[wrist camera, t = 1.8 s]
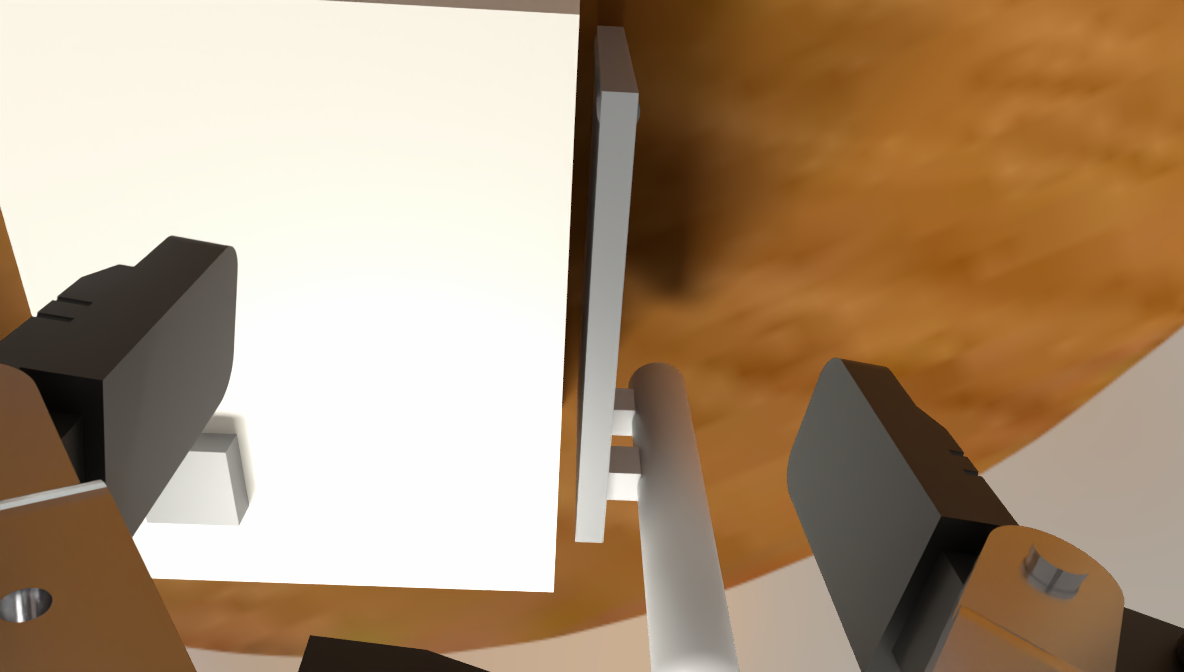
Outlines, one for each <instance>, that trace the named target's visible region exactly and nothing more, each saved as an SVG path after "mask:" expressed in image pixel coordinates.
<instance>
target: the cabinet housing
mask: <svg viewBox="0 0 1184 672" xmlns="http://www.w3.org/2000/svg"><path fill="white" fill-rule="evenodd" d="M579 14H580V0H0V207H1V210H2V213H3V217H4V220H5V224H6V227H7V231H8V234H9V238H10V241H11V245H12V248H13V252H14V255H15V258H16V262H17V265H18V269H19V272H20V276H21V279H22V283H23V286H24V290H25V293H26V296H27V300H28V303H29V307H30V310H31V314H32V316H33V317H36V316H37V312H38V311H39V310H41V309H42V308H43V307H44V306H46V305H47V304H48V303H49V302H51V301H52V300H55V301H56V300H57V296H58V295H59V294H61V293H62V292H63V291H64V290H66V289H67V288H68V287H69V286H71V285H72V284H73V283H74V282H76V281H77V280H78V279H79V278H81V277H83V276H86V275H89V274H92V273H95V272H98V271H101V270H103V269H106V268H109V267H112V266H115V265H118V264H121V265H127V266H133V267H134V266H135V265H136V264H137V263H139V262H140V261H141V260H142V259H143V258H144V257H145V256H147V255H148V254H149V253H150V252H151V251H152V250H153V249H155V248H156V247H157V246H158V245H159V244H160V243H161V242H163V241H164V240H165V239H166V238H167V237H169V236H172V235H173V236H179V237H184V238H190V239H195V240H200V241H206V242H211V243H217V244H222V245H228V246H233V247H234V248H235V250H236V254H237V259H238V275H237V297H236V318H235V340H234V358H233V366H232V372H231V376H230V380H229V384H228V387H227V390H226V393H225V395H224V398H223V400H222V402H221V403H220V405H219V406H218V408H217V410H216V411H215V413H214V414H213V416H212V417H211V419H210V420H209V422H208V423H207V425H206V426H205V428H204V429H203V431H202V432H201V434H200V435H199V437H198V438H197V440H196V441H195V443H194V445H193V446H192V448H191V449H190V451H189V452H188V454H187V455H186V457H185V458H184V460H183V461H182V463H181V464H180V466H179V467H178V469H177V470H176V472H175V473H174V475H173V476H172V478H171V479H170V481H169V483H168V484H167V486H166V487H165V489H164V490H163V492H162V493H161V495H160V496H159V498H158V499H157V501H156V502H155V504H154V505H153V507H152V508H151V510H150V511H149V513H148V514H147V516H146V517H145V519H144V521H143V522H142V524H141V525H140V527H139V528H138V530H137V531H136V533H135V534H134V536H133V537H132V538H133V540H134V542H135V545H136V547H137V549H138V551H139V553H140V555H141V557H142V559H143V561H144V563H145V565H146V567H147V569H148V572H149V574H150V576H151V578H161V579H190V580H219V581H247V582H276V583H305V584H334V585H363V586H391V587H420V588H449V589H478V590H506V591H535V592H553V591H554V569H555V547H556V524H557V502H558V480H559V458H560V436H561V413H562V391H563V369H564V347H565V325H566V303H567V280H568V258H569V236H570V214H571V192H572V169H573V147H574V125H575V103H576V81H577V58H578V36H579Z"/></svg>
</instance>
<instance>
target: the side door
mask: <svg viewBox="0 0 1184 672" xmlns="http://www.w3.org/2000/svg"><path fill="white" fill-rule="evenodd" d="M594 62H595V75H594V93H593V111H592V129H591V148H590V166H589V184H588V203H587V221H586V239H585V257H584V276H583V294H582V312H581V331H580V349H579V367H578V385H577V454H576V523H575V542H598V543H603V537H604V524H605V512H606V500H631V501H638V511H639V523H640V535H641V547H642V559H643V572H644V584H645V596H646V608H647V620H648V633H649V645H650V657H651V669H652V672H740V671H739V665H738V660H737V655H736V650H735V644H734V639H733V634H732V628H731V624H730V618H729V613H728V607H727V602H726V597H725V591H724V586H723V581H722V576H721V570H720V565H719V560H718V555H717V549H716V544H715V539H714V534H713V528H712V523H711V518H710V512H709V507H708V502H707V497H706V491H705V486H704V481H703V476H702V470H701V465H700V460H699V455H698V449H697V444H696V439H695V434H694V428H693V423H692V418H691V412H690V407H689V402H688V397H687V391H686V386H685V381H684V378H683V376H682V374H681V373H680V372H679V370H677V369H676V368H675V367H673V366H671V365H669V364H666V363H650V364H647V365H644V366H642V367H640V368H639V369H638V370H637V371H635V373H634V374H633V375H632V377H631V379H630V381H629V389H623V388H615V386H616V374H617V361H618V349H619V336H620V323H621V311H622V298H623V286H624V273H625V261H626V248H627V235H628V223H629V210H630V198H631V185H632V173H633V160H634V148H635V135H636V124H637V122H638V120H639V117H640V106H639V101H638V97H639V92H638V87H637V83H636V79H635V74H634V70H633V65H632V61H631V57H630V52H629V48H628V44H627V39H626V35H625V30H624V27H617V26H599V25H597V35H596V36H595V39H594ZM612 435H625V436H632V437H633V447H623V446H611V436H612Z"/></svg>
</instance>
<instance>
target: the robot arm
mask: <svg viewBox="0 0 1184 672" xmlns="http://www.w3.org/2000/svg"><path fill="white" fill-rule="evenodd" d="M237 275H238V259H237V254H236V250H235V248H234V247H233V246H228V245H222V244H217V243H211V242H206V241H200V240H195V239H190V238H184V237H179V236H173V235H172V236H169V237H167V238H166V239H165V240H164V241H163V242H161V243H160V244H159V245H158V246H157V247H156V248H155V249H153V250H152V251H151V252H150V253H149V254H148V255H147V256H145V257H144V258H143V259H142V260H141V261H140V262H139V263H137V264H136V265H135V266H134V267H133V266H127V265H121V264H118V265H115V266H112V267H109V268H106V269H103V270H101V271H98V272H95V273H92V274H89V275H86V276H83V277H81V278H79V279H78V280H77V281H76V282H74V283H73V284H72V285H71V286H69V287H68V288H67V289H66V290H64V291H63V292H62V293H61V294H59V295H58V296H57V300H56V301H55V300H52V301H51V302H49V303H48V304H47V305H46V306H44V307H43V308H42V309H41V310H39V311H38V312H37V316H36V317H33V316H32V317H31V318H29V319H28V320H27V321H26V322H24V323H23V324H22V325H21V326H19V327H18V328H17V329H15V330H14V331H13V332H12V333H10V334H9V335H8V336H7V337H5V338H4V339H3V340H2V341H0V672H197V671H196V669H195V667H194V665H193V663H192V661H191V659H190V657H189V655H188V653H187V651H186V648H185V646H184V644H183V642H182V640H181V638H180V636H179V634H178V632H177V630H176V628H175V626H174V624H173V621H172V619H171V617H170V615H169V613H168V611H167V609H166V607H165V605H164V603H163V601H162V599H161V596H160V594H159V592H158V590H157V588H156V586H155V584H154V582H153V580H152V578H151V576H150V574H149V572H148V569H147V567H146V565H145V563H144V561H143V559H142V557H141V555H140V553H139V551H138V549H137V547H136V545H135V542H134V540H133V538H132V537H133V536H134V534H135V533H136V531H137V530H138V528H139V527H140V525H141V524H142V522H143V521H144V519H145V517H146V516H147V514H148V513H149V511H150V510H151V508H152V507H153V505H154V504H155V502H156V501H157V499H158V498H159V496H160V495H161V493H162V492H163V490H164V489H165V487H166V486H167V484H168V483H169V481H170V479H171V478H172V476H173V475H174V473H175V472H176V470H177V469H178V467H179V466H180V464H181V463H182V461H183V460H184V458H185V457H186V455H187V454H188V452H189V451H190V449H191V448H192V446H193V445H194V443H195V441H196V440H197V438H198V437H199V435H200V434H201V432H202V431H203V429H204V428H205V426H206V425H207V423H208V422H209V420H210V419H211V417H212V416H213V414H214V413H215V411H216V410H217V408H218V406H219V405H220V403H221V402H222V400H223V398H224V395H225V393H226V390H227V387H228V384H229V380H230V376H231V372H232V366H233V358H234V340H235V318H236V297H237ZM963 453H964V452H963V451H962V449H961V448H960V447H959V446H958V444H957V443H956V442H955V440H954V439H953V438H952V436H951V435H950V434H949V432H948V431H947V430H946V429H945V428H944V427H943V426H941V425H940V424H939V423H938V422H936V421H935V420H934V419H932V418H931V417H930V416H929V415H927V414H926V413H925V412H923V411H922V410H921V409H920V408H918V407H917V406H916V405H915V404H914V402H913V401H912V399H911V398H910V397H909V395H908V394H907V393H906V391H905V390H904V388H903V387H902V386H901V384H900V383H899V382H898V380H897V379H896V378H895V376H894V375H893V373H892V372H891V371H890V370H889V369H888V368H887V367H883V366H878V365H873V364H867V363H862V362H856V361H851V360H845V359H840V358H833V359H831V360H830V361H829V362H828V363H827V364H826V365H825V366H824V368H823V370H822V372H821V374H820V376H819V379H818V382H817V384H816V387H815V390H814V392H813V395H812V397H811V400H810V403H809V405H808V408H807V411H806V413H805V416H804V418H803V421H802V424H801V426H800V429H799V431H798V434H797V437H796V439H795V442H794V445H793V447H792V450H791V453H790V457H789V462H788V469H787V485H788V491H789V495H790V497H791V500H792V502H793V505H794V507H795V510H796V512H797V515H798V517H799V520H800V522H801V524H802V527H803V529H804V532H805V534H806V537H807V539H808V542H809V544H810V547H811V549H812V552H813V554H814V556H815V559H816V561H817V564H818V566H819V569H820V571H821V574H822V576H823V578H824V581H825V583H826V586H827V588H828V591H829V593H830V596H831V598H832V601H833V603H834V606H835V608H836V611H837V613H838V615H839V618H840V620H841V623H842V625H843V628H844V630H845V633H846V635H847V638H848V640H849V642H850V645H851V647H852V650H853V652H854V655H855V657H856V660H857V662H858V664H859V667H860V669H861V672H1184V628H1181V627H1178V626H1175V625H1173V624H1170V623H1167V622H1164V621H1161V620H1159V619H1156V618H1153V617H1150V616H1147V615H1144V614H1142V613H1139V612H1136V611H1133V610H1131V609H1127V608H1125V607H1124V596H1123V593H1122V590H1121V588H1120V587H1119V585H1118V583H1117V582H1116V580H1115V579H1114V578H1113V577H1112V575H1111V574H1110V573H1109V572H1108V571H1107V570H1106V569H1105V568H1104V567H1103V566H1101V565H1100V564H1099V563H1098V562H1097V561H1096V560H1094V559H1093V558H1092V557H1090V556H1089V555H1088V554H1086V553H1085V552H1083V551H1082V550H1080V549H1078V548H1077V547H1075V546H1074V545H1072V544H1070V543H1068V542H1066V541H1064V540H1062V539H1060V538H1058V537H1056V536H1053V535H1051V534H1048V533H1046V532H1043V531H1040V530H1037V529H1033V528H1029V527H1024V526H1019V525H1018V524H1017V522H1016V521H1015V520H1014V519H1013V517H1012V516H1011V514H1010V513H1009V512H1008V510H1007V509H1006V508H1005V506H1004V505H1003V504H1002V503H1001V501H1000V500H999V498H998V497H997V496H996V494H995V493H994V492H993V490H992V489H991V488H990V487H989V485H988V484H987V483H986V482H985V480H984V479H983V477H981V476H978V471H977V469H976V468H975V467H974V465H973V464H972V463H971V461H970V460H969V459H968V457H963ZM298 672H489V671H486V670H483V669H480V668H478V667H474V666H472V665H469V664H466V663H463V662H460V661H457V660H454V659H451V658H448V657H446V656H443V655H440V654H437V653H434V652H431V651H428V650H423V649H415V648H407V647H399V646H391V645H383V644H375V643H367V642H359V641H351V640H343V639H335V638H327V637H319V636H311V635H310V637H309V640H308V643H307V646H306V649H305V652H304V655H303V659H302V662H301V665H300V668H299V671H298Z"/></svg>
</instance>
